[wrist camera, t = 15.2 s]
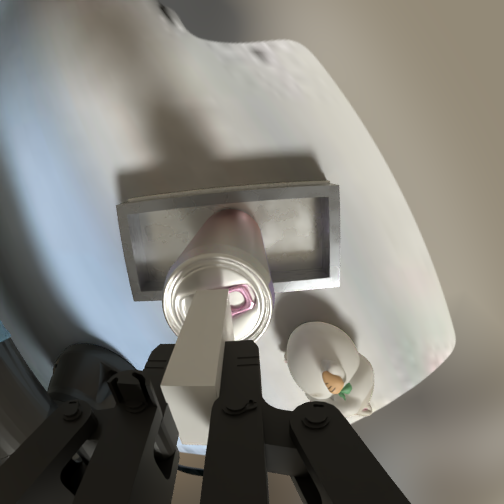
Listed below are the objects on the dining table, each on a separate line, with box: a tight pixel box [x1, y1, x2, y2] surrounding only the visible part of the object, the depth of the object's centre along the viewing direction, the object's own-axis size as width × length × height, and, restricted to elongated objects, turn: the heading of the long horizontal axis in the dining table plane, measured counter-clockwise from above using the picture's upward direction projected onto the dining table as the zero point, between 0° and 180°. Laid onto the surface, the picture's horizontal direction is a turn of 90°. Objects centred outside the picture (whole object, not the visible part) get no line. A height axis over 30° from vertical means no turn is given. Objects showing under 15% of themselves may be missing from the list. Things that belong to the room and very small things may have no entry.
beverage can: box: [162, 209, 275, 342], centre depth 22 cm, size 6×6×15 cm
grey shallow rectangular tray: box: [116, 180, 340, 301], centre depth 28 cm, size 20×10×4 cm, turn 94°
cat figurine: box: [284, 322, 374, 418], centre depth 30 cm, size 10×8×15 cm
